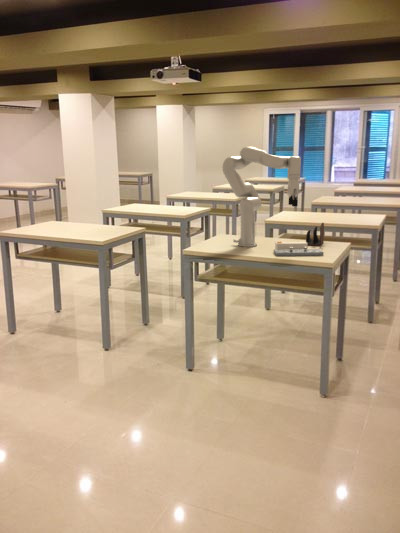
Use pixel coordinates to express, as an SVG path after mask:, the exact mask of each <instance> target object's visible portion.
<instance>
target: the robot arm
mask: <svg viewBox="0 0 400 533" xmlns="http://www.w3.org/2000/svg"><path fill="white" fill-rule="evenodd" d="M301 161H302V158H301V157H300V156H285V155H273V154H270V153H267V151H266V150H263V149H259V148H257V147H255V146H245V147H242V148H241V149H240V151H239V155H233V156H228V157H226V158H225V159H224V160H223V163H222V167H221V168H222V172H223V175H224V177H225V179H226V180H227V183H228V184H229V186H230V188H231V190H232V192H233V193H234V195H235V196H236V197H237V198H243V199H241V201H240V202H239V212H240V237H239V238H238V239H235V238H234V239H233V243H237V245H238V246H239V247H244V248H251V247H257V246H258V243H257V242H255V240H256V214H255V212H256V211H259V210H260V209H261V207H262V200H261V197H260V196H259V194H258V192H257V190H256V188H255V186H254V185H253V184H251V183H250V182H244V180H243V178H242V177H241V175H240V174H239V173H238V171H237V170H242V169H244V168H246V167H248V166H249V165H251V164H252V163H255V164H258V165H262V166H264V167H268V168H271V169H277V170H282V169H287V182H288V183H287V194H286V195H287V196H288V205H290V206H291V207H298V201H299V200H298V199H299V198H298V196H299V190H300V189H299V186H300V185H299V180H301V166H302V164H301V163H302V162H301Z"/></svg>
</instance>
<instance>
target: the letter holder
mask: <svg viewBox="0 0 400 533" xmlns="http://www.w3.org/2000/svg"><path fill="white" fill-rule="evenodd" d="M324 231H325V222H321V225H320V228H319V237H318V226H315V227H314V228H313V232H312V233H313V234H312V238H311V229H309V230H307V233H306V234H305V235H306V236H305V237H306V238H305V242H306V243H308V245H307V247H321V246H322V245H323V243H324V237H325V235H324V234H325V232H324Z"/></svg>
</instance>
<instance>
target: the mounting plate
mask: <svg viewBox="0 0 400 533" xmlns="http://www.w3.org/2000/svg"><path fill="white" fill-rule="evenodd" d="M273 253H274V255H275V256H276V257H296V256H298V257H299V256H300V257H301V256H302V257H303V256H305V257H309V256H314V257H315V256H316V257H317V256H324V253H325V252H324V251H322V250H321V249H319V248H308V246H307V247H304V249H293V247H290V249H275V248H274V249H273Z"/></svg>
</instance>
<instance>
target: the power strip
mask: <svg viewBox="0 0 400 533" xmlns="http://www.w3.org/2000/svg"><path fill="white" fill-rule="evenodd" d="M274 244H275V245H274V249H290V247H293V249H304V247H307V248H308V246H307V245H308V243H306V241H275V243H274Z"/></svg>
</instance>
